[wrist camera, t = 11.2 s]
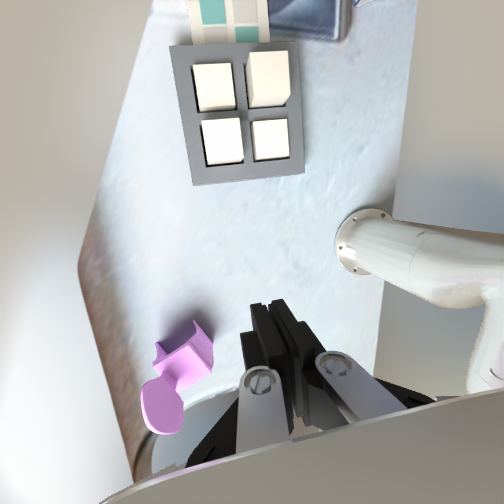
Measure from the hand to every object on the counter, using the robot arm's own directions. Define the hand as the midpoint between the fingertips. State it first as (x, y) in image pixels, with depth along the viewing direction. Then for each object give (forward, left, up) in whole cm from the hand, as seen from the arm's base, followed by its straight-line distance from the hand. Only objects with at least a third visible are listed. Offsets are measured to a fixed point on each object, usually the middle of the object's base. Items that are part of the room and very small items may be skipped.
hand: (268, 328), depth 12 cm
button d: (0, -20, -29) cm, 35 cm away
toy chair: (+11, +19, -29) cm, 37 cm away
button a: (-7, -14, -29) cm, 33 cm away
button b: (-1, -13, -26) cm, 30 cm away
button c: (-8, -21, -26) cm, 34 cm away
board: (-4, -21, -29) cm, 36 cm away
